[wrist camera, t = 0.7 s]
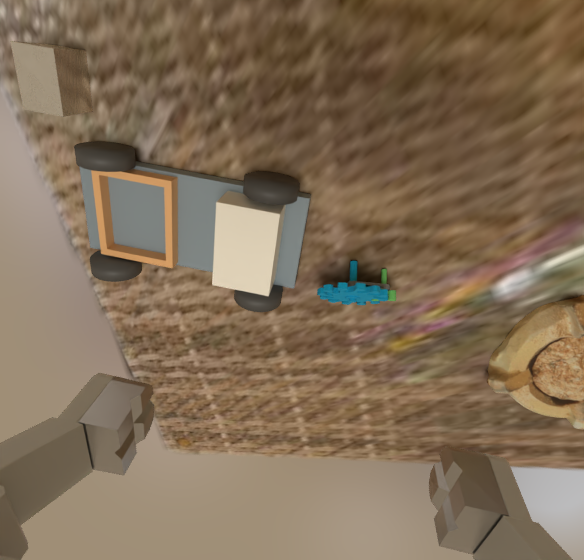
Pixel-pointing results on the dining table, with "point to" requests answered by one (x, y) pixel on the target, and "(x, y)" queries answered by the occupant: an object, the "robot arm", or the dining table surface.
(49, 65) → the block
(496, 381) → the ashtray
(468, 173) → the dining table surface
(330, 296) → the gear
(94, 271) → the chassis
